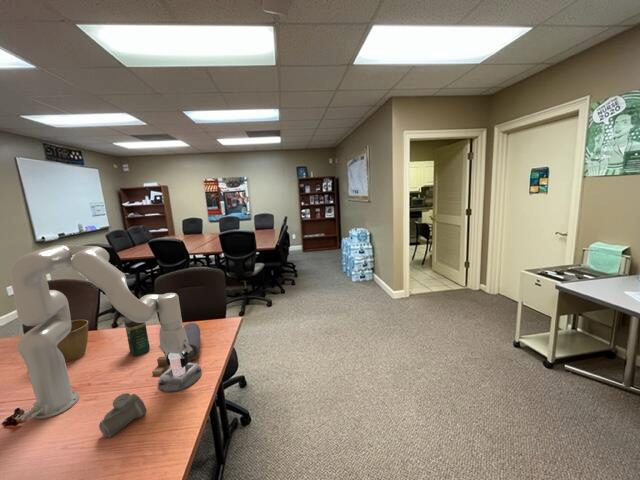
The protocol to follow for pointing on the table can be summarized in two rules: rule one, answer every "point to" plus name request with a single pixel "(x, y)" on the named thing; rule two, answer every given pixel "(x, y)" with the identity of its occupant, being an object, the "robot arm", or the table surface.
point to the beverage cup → (176, 364)
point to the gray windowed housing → (179, 378)
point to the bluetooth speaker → (193, 339)
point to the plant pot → (75, 341)
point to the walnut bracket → (161, 366)
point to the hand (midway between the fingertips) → (177, 364)
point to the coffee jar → (137, 337)
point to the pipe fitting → (122, 413)
